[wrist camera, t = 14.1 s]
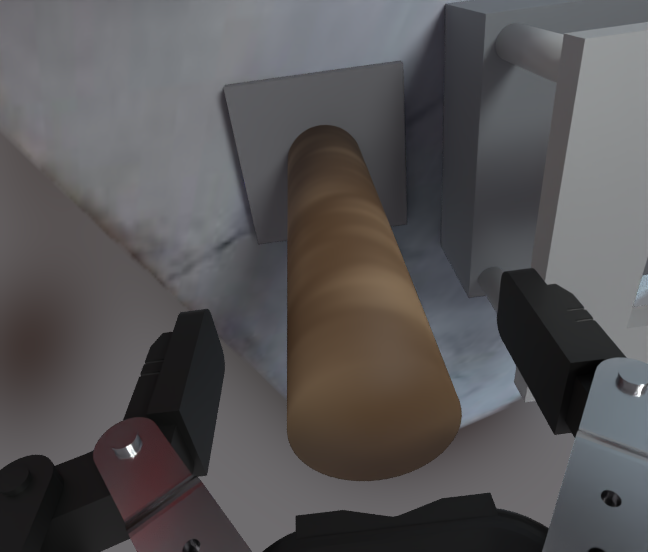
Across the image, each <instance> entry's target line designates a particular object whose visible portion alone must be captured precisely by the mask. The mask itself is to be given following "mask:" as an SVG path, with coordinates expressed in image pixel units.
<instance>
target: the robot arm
mask: <svg viewBox="0 0 648 552" xmlns="http://www.w3.org/2000/svg"><path fill="white" fill-rule="evenodd" d="M497 324H498V330H499V333H500V336H501V339H502V341H503V342H504V344H505V346H506V348H507V350H508V351H509V353H510V355H511V357H512V359H513V361H514V362H515V364H516V366H517V368H518V370H519V371H520V373H521V375H522V377H523V379H524V381H525V382H526V384H527V386H528V388H529V390H530V391H531V393H532V395H533V397H534V399H535V400H536V402H537V404H538V406H539V408H540V410H541V411H542V413H543V415H544V417H545V419H546V420H547V422H548V424H549V426H550V428H551V429H552V431H553V433H554V434H555V435H557V434H565V433H572V434H573V436H574V437H575V441H574V445H573V448H572V452H571V455H570V458H569V462H568V465H567V469H566V472H565V475H564V479H563V483H562V486H561V489H560V492H559V496H558V499H557V503H556V506H555V510H554V513H553V517H552V520H551V523H550V526H549V528H547V527H546V526H544V525H543V524H541V523H539V522H537V521H535V520H532V519H531V518H529V517H526V516H523V515H521V514H518V513H515V512H511V511H507V510H504V509H497V508H496V507H495V504H494V501H493V499H492V496H491V493H484V494H475V495H468V496H458V497H450V498H442V499H439V500H437V501H434V502H432V503H430V504H427V505H424V506H422V507H419V508H417V509H414V510H412V511H409V512H407V513H404V514H402V515H399V516H395V517H390V516H382V515H375V514H368V513H360V512H353V511H346V510H340V511H332V512H324V513H315V514H307V515H298V516H296V532H293V533H291V534H289V535H287V536H285V537H283V538H281V539H279V540H278V541H276V542H275V543H273V544H272V545H270V546H269V547H268V548H266V549H265V550H264V551H263V552H648V364H647V363H645V362H642V361H639V360H635V359H631V358H627V357H626V356H625V355H624V354H623V353H622V351H621V350H620V349H619V348H618V347H617V345H616V344H615V343H614V342H613V341H612V340H611V338H610V337H609V336H608V335H607V334H606V332H605V331H604V330H603V329H602V328H601V326H600V325H599V324H598V323H597V322H596V321H595V320H593V317H592V316H591V315H590V313H589V312H588V311H587V310H585V309H584V306H583V305H582V304H581V303H580V302H579V300H578V299H577V298H576V297H575V296H574V294H572V293H571V292H569V291H567V290H566V289H564V288H562V287H561V286H559V285H557V284H549V285H547V284H546V283H545V281H544V280H543V279H542V277H541V276H540V275H539V274H538V272H537V271H536V270H535V269H534V268H527V269H520V270H512V271H504V272H503V273H502V276H501V282H500V292H499V302H498V312H497ZM224 371H225V362H224V354H223V350H222V347H221V344H220V340H219V337H218V334H217V331H216V328H215V325H214V322H213V318H212V315H211V313H210V311H209V310H208V309H203V310H195V311H188V312H181V313H180V314H179V315H178V318H177V321H176V325H175V327H174V330H173V332H168V333H163V334H162V335H161V336H160V337H159V338H158V339H157V340H156V341H155V343H154V344H153V345H152V346H151V347H150V350H149V353H148V355H147V358H146V360H145V364H144V366H143V369H142V371H141V377H139V379H138V382H137V384H136V387H135V390H134V393H133V395H132V398H131V401H130V403H129V406H128V409H127V411H126V414H125V417H124V419H123V421H121V422H119V423H117V424H115V425H114V426H112V427H111V428H110V429H108V430H107V431H106V432H105V433H104V434H103V435H102V436H101V438H100V439H99V440H98V442H97V444H96V446H95V448H94V450H93V451H92V452H89V453H87V454H85V455H82V456H80V457H77V458H74V459H72V460H69V461H67V462H64V463H61V464H59V465H56V466H54V464H53V463H52V462H51V460H50V459H49V458H47V457H46V456H43V455H30V456H26V457H23V458H20V459H18V460H15V461H14V462H12V463H10V464H8V465H7V466H5V467H4V468H3V469H1V470H0V552H101V551H103V550H105V549H108V548H110V547H112V546H114V545H117V544H119V543H121V542H123V541H126V540H128V539H130V538H131V540H132V542H133V544H134V546H135V548H136V550H137V552H252V551H251V550H250V548H249V547H248V545H247V544H246V543H245V541H244V540H243V538H242V537H241V536H240V534H239V533H238V532H237V530H236V529H235V527H234V526H233V525H232V523H231V522H230V521H229V519H228V518H227V516H226V515H225V513H224V512H223V511H222V509H221V508H220V506H219V505H218V504H217V502H216V501H215V500H214V498H213V497H212V495H211V494H210V493H209V491H208V490H207V488H206V487H205V486H204V484H203V483H202V482H201V480H200V479H199V478H198V476H206V475H207V472H208V466H209V460H210V454H211V448H212V443H213V437H214V430H215V425H216V419H217V413H218V407H219V401H220V395H221V390H222V383H223V378H224Z"/></svg>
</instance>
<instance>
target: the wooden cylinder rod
mask: <svg viewBox="0 0 648 552" xmlns="http://www.w3.org/2000/svg"><path fill="white" fill-rule="evenodd" d="M461 417H462V414H461V405H460V401H459V399H458V396H457V394H456V391H455V389H454V386H453V384H452V381H451V379H450V376H449V374H448V371H447V368H446V366H445V363H444V361H443V358H442V356H441V353H440V351H439V348H438V346H437V343H436V341H435V338H434V336H433V333H432V330H431V328H430V325H429V323H428V320H427V318H426V315H425V313H424V310H423V308H422V305H421V303H420V300H419V298H418V295H417V293H416V290H415V287H414V285H413V282H412V280H411V277H410V275H409V272H408V270H407V267H406V265H405V262H404V260H403V257H402V255H401V252H400V249H399V247H398V244H397V242H396V239H395V237H394V234H393V232H392V229H391V227H390V224H389V222H388V219H387V217H386V214H385V212H384V209H383V206H382V204H381V201H380V199H379V196H378V194H377V191H376V189H375V186H374V184H373V181H372V179H371V176H370V174H369V171H368V168H367V166H366V163H365V161H364V158H363V156H362V153H361V151H360V148H359V146H358V144H357V142H356V140H355V139H354V138H353V137H352V136H351V135H350V134H349V133H348V132H347V131H345V130H343V129H341V128H339V127H336V126H332V125H318V126H314V127H311V128H309V129H307V130H305V131H304V132H302V133H301V134H300V135H299V136H298V137H297V138H296V139H295V141H294V142H293V144H292V146H291V148H290V150H289V154H288V233H287V434H288V440H289V443H290V446H291V447H292V449H293V451H294V453H295V454H296V455H297V456H298V458H299V459H300V460H302V462H304V463H305V464H306V465H307V466H309V467H310V468H312V469H314V470H316V471H318V472H320V473H322V474H325V475H327V476H330V477H335V478H338V479H344V480H351V481H374V480H382V479H388V478H393V477H397V476H401V475H403V474H406V473H409V472H412V471H414V470H416V469H419V468H420V467H422V466H424V465H426V464H428V463H429V462H431V461H432V460H434V459H435V458H437V457H438V456H439V455H440V454H441V453H443V451H444V450H445V449H446V448H447V447H448V446H449V445H450V444H451V442H452V441H453V440H454V438H455V436H456V434H457V432H458V430H459V427H460V424H461Z"/></svg>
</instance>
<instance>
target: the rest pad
mask: <svg viewBox="0 0 648 552" xmlns="http://www.w3.org/2000/svg"><path fill="white" fill-rule="evenodd" d="M224 93H225V97H226V102H227V106H228V111H229V115H230V120H231V124H232V129H233V133H234V138H235V142H236V147H237V151H238V156H239V160H240V165H241V169H242V174H243V178H244V183H245V187H246V191H247V196H248V200H249V205H250V209H251V214H252V218H253V223H254V227H255V232H256V236H257V241H258V244H264V243H271V242H279V241H286V240H287V233H288V154H289V150H290V148H291V146H292V144H293V142H294V141H295V139H296V138H297V137H298V136H299V135H300V134H301V133H302V132H304V131H305V130H307V129H309V128H311V127H314V126H318V125H332V126H336V127H339V128H341V129H343V130H345V131H347V132H348V133H349V134H350V135H351V136H352V137H353V138H354V139H355V140H356V142H357V144H358V146H359V148H360V151H361V153H362V156H363V158H364V161H365V163H366V166H367V168H368V171H369V174H370V176H371V179H372V181H373V184H374V186H375V189H376V191H377V194H378V196H379V199H380V201H381V204H382V206H383V209H384V212H385V214H386V217H387V219H388V222H389V224H390V227H391V226H399V225H406V224H407V199H406V158H405V117H404V77H403V62H401V61H395V62H387V63H380V64H373V65H366V66H359V67H351V68H344V69H337V70H330V71H322V72H315V73H308V74H301V75H294V76H286V77H279V78H272V79H265V80H257V81H250V82H243V83H236V84H228V85H225V86H224Z"/></svg>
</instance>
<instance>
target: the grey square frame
mask: <svg viewBox="0 0 648 552" xmlns="http://www.w3.org/2000/svg"><path fill="white" fill-rule="evenodd" d="M441 247H442V249H443V251H444V253H445V255H446V257H447V259H448V260H449V262H450V264H451V266H452V268H453V270H454V272H455V273H456V275H457V277H458V279H459V281H460V283H461V285H462V286H463V288H464V290H465V292H466V294H467V296H468V298H472V297H480V296H487V298H488V300H489V301H490V303H491V305H492V306H493V308H494V310H495V311H496V313H497V312H498V302H499V292H500V282H501V276H502V273H503V272H504V271H512V270H520V269H527V268H534V269H535V270H536V271H537V272H538V274H539V275H540V276H541V277H542V279H543V280H544V281H545V283H546V284H547V285H549V284H557V285H559V286H561V287H562V288H564V289H566V290H567V291H569V292H571V293H572V294H574V296H575V297H576V298H577V299H578V300H579V302H580V303H581V304H582V305H583V306H584V309H585V310H587V311H588V312H589V313H590V315H591V316H592V317H593V320H595V321H596V322H597V323H598V324H599V325H600V326H601V328H602V329H603V330H604V331H605V332H606V334H607V335H608V336H609V337H610V338H611V340H612V341H613V342H614V343H615V344H616V345H617V347H618V348H619V349H620V350H621V351H622V353H623V354H624V355H625V356H626V357H627V358H631V359H635V360H639V361H642V362H645V363H647V364H648V305H642V306H634V307H633V305H634V301H635V298H636V295H637V291H638V288H639V285H640V281H641V278H642V275H647V274H648V0H470V1H463V2H456V3H448V4H446V13H445V64H444V115H443V166H442V217H441ZM514 383H515V385H516V387H517V389H518V390H519V392H520V394H521V396H522V398H523V400H524V402H531V401H536V400H535V399H534V397H533V395H532V393H531V391H530V390H529V388H528V386H527V384H526V382H525V381H524V379H523V377H522V375H521V373H520V371H519V370H518V368H517V366H516V372H515V379H514Z"/></svg>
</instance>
